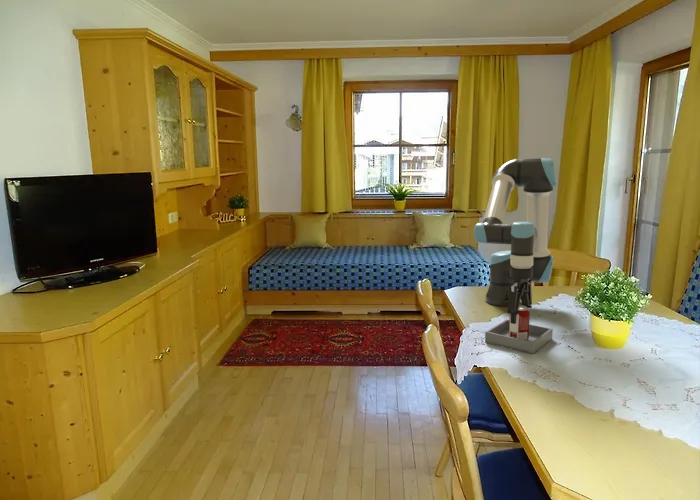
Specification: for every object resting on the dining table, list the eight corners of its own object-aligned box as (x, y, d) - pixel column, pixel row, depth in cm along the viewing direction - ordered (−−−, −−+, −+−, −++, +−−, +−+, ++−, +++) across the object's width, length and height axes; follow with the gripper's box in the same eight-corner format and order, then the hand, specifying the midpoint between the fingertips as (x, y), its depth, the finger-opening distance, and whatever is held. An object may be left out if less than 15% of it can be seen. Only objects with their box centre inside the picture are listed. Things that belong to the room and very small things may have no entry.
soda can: (529, 343, 171) (531, 310, 168) (509, 342, 172) (510, 310, 169) (527, 335, 177) (528, 304, 174) (507, 335, 178) (508, 304, 176)
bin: (506, 329, 187) (506, 319, 186) (552, 339, 175) (552, 328, 175) (485, 342, 174) (485, 331, 173) (533, 354, 163) (533, 342, 162)
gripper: (523, 260, 180) (521, 318, 184) (497, 270, 165) (496, 334, 169) (543, 262, 175) (540, 322, 179) (519, 273, 160) (517, 339, 164)
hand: (519, 328), depth 174 cm, fingers open, 8 cm apart
